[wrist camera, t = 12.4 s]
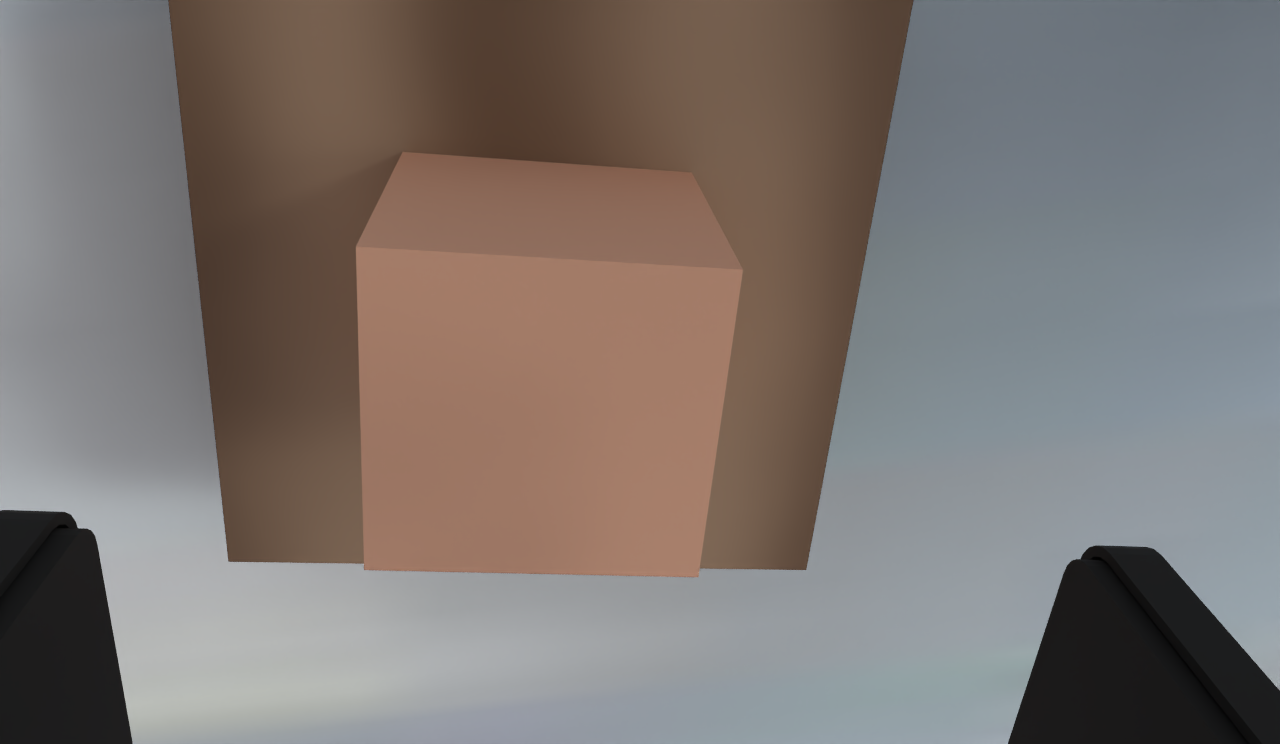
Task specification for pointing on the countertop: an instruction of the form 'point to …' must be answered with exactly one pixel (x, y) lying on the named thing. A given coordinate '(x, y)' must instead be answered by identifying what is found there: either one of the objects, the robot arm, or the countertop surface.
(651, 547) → the terracotta cube
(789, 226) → the walnut base
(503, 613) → the countertop surface
